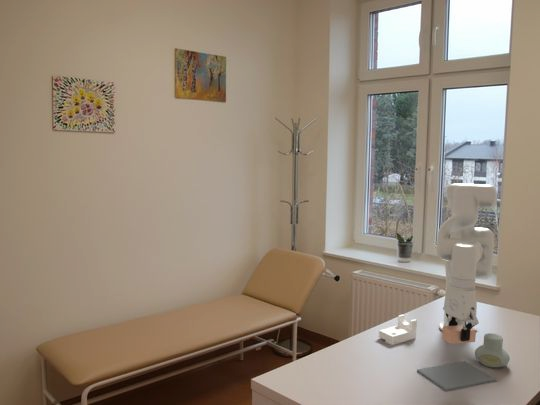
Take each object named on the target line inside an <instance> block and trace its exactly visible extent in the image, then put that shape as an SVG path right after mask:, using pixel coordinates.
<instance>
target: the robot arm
mask: <svg viewBox="0 0 540 405" xmlns="http://www.w3.org/2000/svg"><path fill="white" fill-rule="evenodd" d="M445 190H446V192H445V196H446V201H447V204H448V207H449V209H450V214H451V216H450V217H449V218H447V219H446V220H445V221H444V222H442V224H441V226H440V227H439V229H438V231H437V237H436V238H437V239H436V249H435V250H436V255H437V257H438V259H440V260H442V261H444V268H445V294H444V295H445V296H444V302H443V303H444V304H443V307H442V309H443V312H444V313H443V322H440V323H439V326H438V328H439V329H440V330H441V332H442V331H443V326H456V325H463V329H461V341H469V340H470V330H471V329H472V328H474V327H475V326H477V325H478V324H479V320H478V317H477V306H478V305H477V303H478V302H477V291H476V289H475V288H476V280H480V281H481V280H484V281H486V280H490V278H491V277H492V273H493V262H494V248H495V246H494V245H495V236H494V233H493V230H491V229H489V228H487V227H477V226H476V227H475V225H476V224H477V223H478V221H479V209H493V208H495V207H496V205H497V203H498V202H497V201H498V194H497V188H496V187H495V186H494V185H492V184H481V183H479V184H478V183H477V184H475V183H450V184H449V185H447V187H446V188H445ZM449 235H450V237H448V236H449Z"/></svg>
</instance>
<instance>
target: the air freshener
mask: <svg viewBox="0 0 540 405" xmlns="http://www.w3.org/2000/svg"><path fill="white" fill-rule="evenodd" d="M503 342H504V337H502V336H501V335H499V334H497V333H485V334H484V336H483V344H482V345H479V346H478V347H477V348H476V349H475V351H474V356H475V358H476V359H477V361H478V362H479V363H480V364H482V365H484V366H486V367H488V368H492V369H493V368H494V369H495V368H497V369H498V368H503V367H505V366H506V365H508V364H509V363H510V359H511V358H510V355H509V353H508V351H506V350H505V348H503V345H504V344H503Z"/></svg>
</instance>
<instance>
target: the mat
mask: <svg viewBox="0 0 540 405" xmlns="http://www.w3.org/2000/svg"><path fill="white" fill-rule="evenodd" d="M416 372H417V373H420V375H422V376H424V377H425V378H426V379H427V380H430V382H432V383H434V384H435V385H436V386H438V387H440V388H441V389H443V391H445V392H448V391H454V390H458V389H463V388H468V387H472V386H473V387H474V386H478V385H483V384H487V383H492V382H496V381H497V378H495V377H494V376H492V375H490V374H488V373H486V372H485V371H483V370H482V369H479V368H478V367H476V366H474V365H473V364H471V363H470V362H468V361H467V360H461V361H456V362H450V363H445V364H439V365H435V366H429V367H423V368H418V369H416Z"/></svg>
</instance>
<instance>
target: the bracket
mask: <svg viewBox="0 0 540 405" xmlns="http://www.w3.org/2000/svg"><path fill="white" fill-rule="evenodd" d="M417 323H418V320H417V319H415V318H414V319H411V320H410V321H409V322H408V320H406V317H405V314H399V315H398V316H397V325H395V326H390V327H386V328H383V329H379V330H378V338H380V339H382V340H385V343H387V344H389V345H391V346H394V345H397V344H398V345H399V344H400V343H403V342H408V341H411V340H414V339H416V338H417V326H418V325H417Z"/></svg>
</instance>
